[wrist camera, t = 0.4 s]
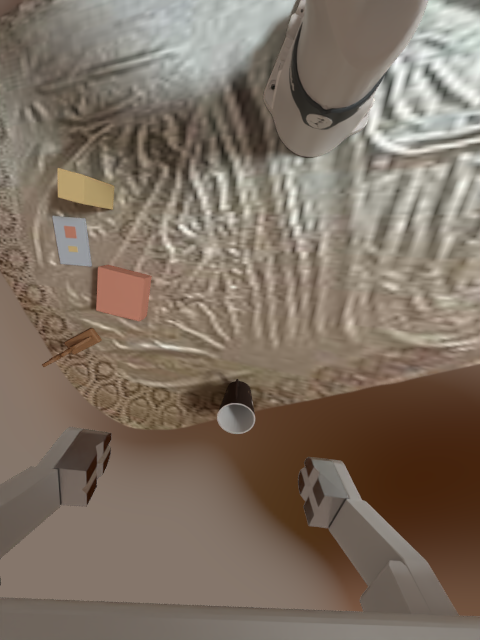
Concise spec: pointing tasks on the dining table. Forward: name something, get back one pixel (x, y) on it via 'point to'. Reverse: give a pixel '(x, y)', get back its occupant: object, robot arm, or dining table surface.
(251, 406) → the coffee mug
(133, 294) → the base brick
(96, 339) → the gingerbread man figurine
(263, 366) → the dining table surface
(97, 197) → the ochre brick
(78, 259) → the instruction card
